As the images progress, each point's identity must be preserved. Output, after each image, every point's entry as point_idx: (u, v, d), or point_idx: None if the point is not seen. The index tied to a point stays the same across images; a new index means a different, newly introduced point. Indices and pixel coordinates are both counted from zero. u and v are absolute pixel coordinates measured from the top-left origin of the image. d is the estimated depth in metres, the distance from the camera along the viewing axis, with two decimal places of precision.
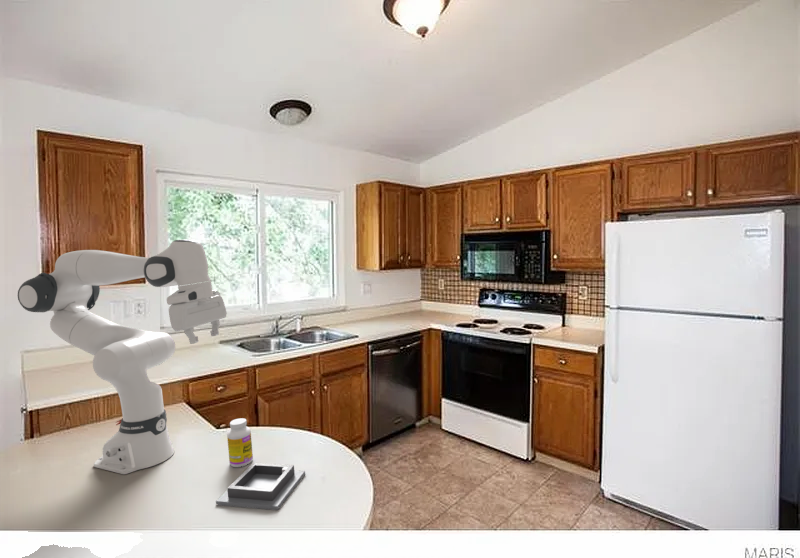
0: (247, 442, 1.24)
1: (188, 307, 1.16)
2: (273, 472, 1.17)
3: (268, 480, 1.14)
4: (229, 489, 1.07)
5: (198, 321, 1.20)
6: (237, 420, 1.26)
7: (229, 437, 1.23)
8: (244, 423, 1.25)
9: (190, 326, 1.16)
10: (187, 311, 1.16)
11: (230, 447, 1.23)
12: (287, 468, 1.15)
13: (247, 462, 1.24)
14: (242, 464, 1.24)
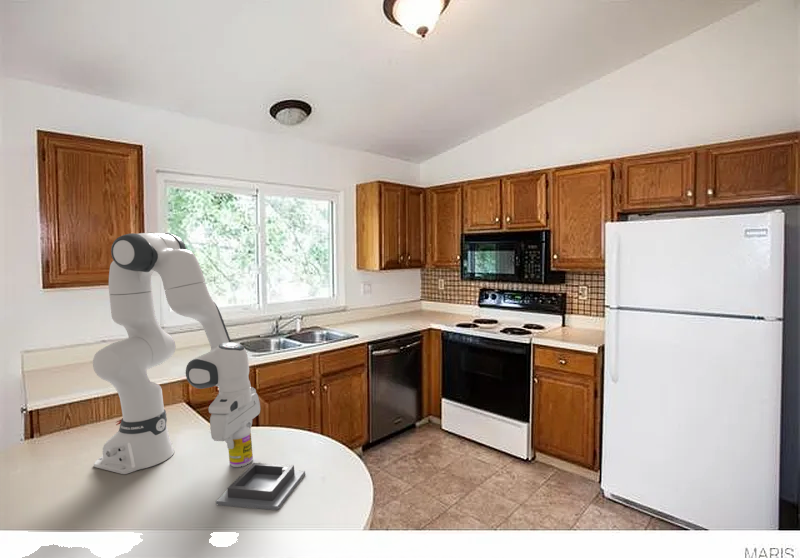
0: (247, 442, 1.24)
1: (229, 417, 1.18)
2: (273, 472, 1.17)
3: (268, 480, 1.14)
4: (229, 489, 1.07)
5: (236, 427, 1.22)
6: None
7: None
8: (244, 423, 1.25)
9: (229, 436, 1.18)
10: (227, 421, 1.18)
11: None
12: (287, 468, 1.15)
13: (247, 462, 1.24)
14: (242, 464, 1.24)
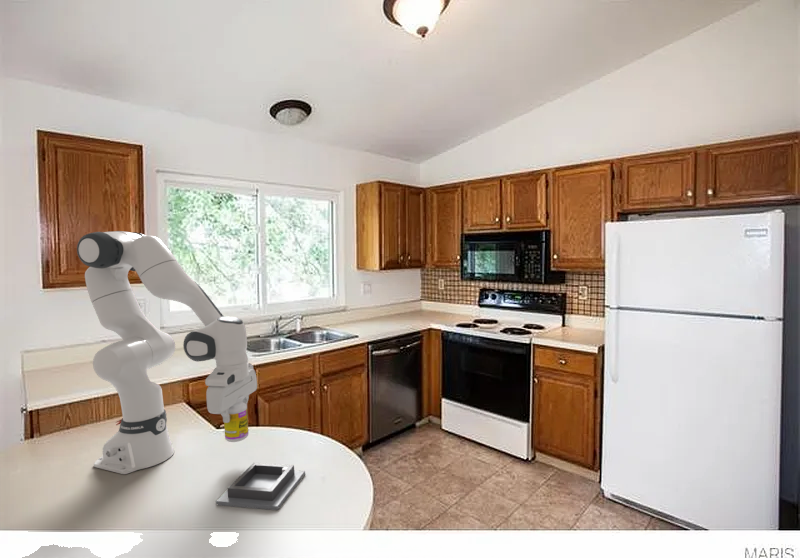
0: (243, 417, 1.24)
1: (225, 390, 1.17)
2: (273, 472, 1.17)
3: (268, 480, 1.14)
4: (229, 489, 1.07)
5: (233, 401, 1.21)
6: None
7: None
8: (240, 398, 1.24)
9: (225, 409, 1.18)
10: (224, 394, 1.17)
11: None
12: (287, 468, 1.15)
13: (243, 437, 1.24)
14: (238, 439, 1.23)
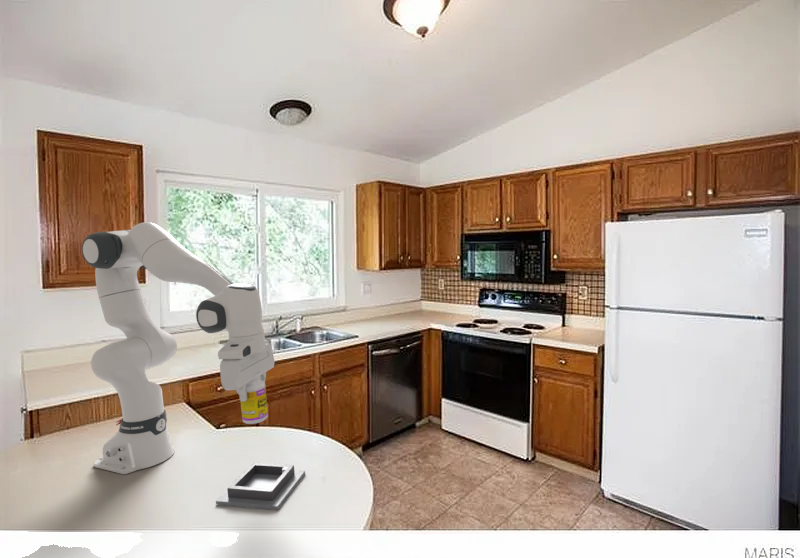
0: (262, 396, 1.11)
1: (241, 363, 1.04)
2: (273, 472, 1.17)
3: (268, 480, 1.14)
4: (229, 489, 1.07)
5: (249, 377, 1.08)
6: None
7: None
8: (258, 375, 1.11)
9: (241, 385, 1.04)
10: (240, 368, 1.04)
11: (243, 401, 1.09)
12: (287, 468, 1.15)
13: (262, 418, 1.11)
14: (257, 420, 1.10)
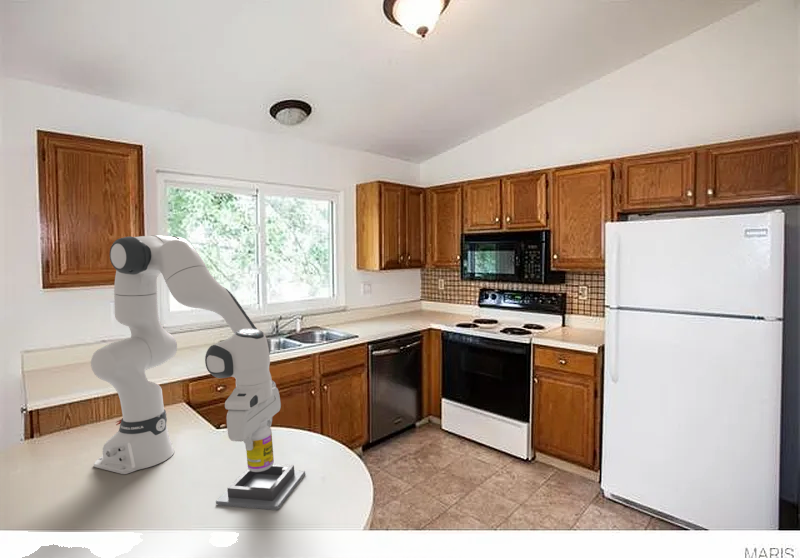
0: (268, 443, 1.09)
1: (248, 414, 1.03)
2: (273, 472, 1.17)
3: (268, 480, 1.14)
4: (229, 489, 1.07)
5: (256, 425, 1.07)
6: None
7: None
8: (264, 422, 1.10)
9: (248, 435, 1.03)
10: (246, 418, 1.03)
11: None
12: (287, 468, 1.15)
13: (268, 466, 1.09)
14: (262, 469, 1.08)
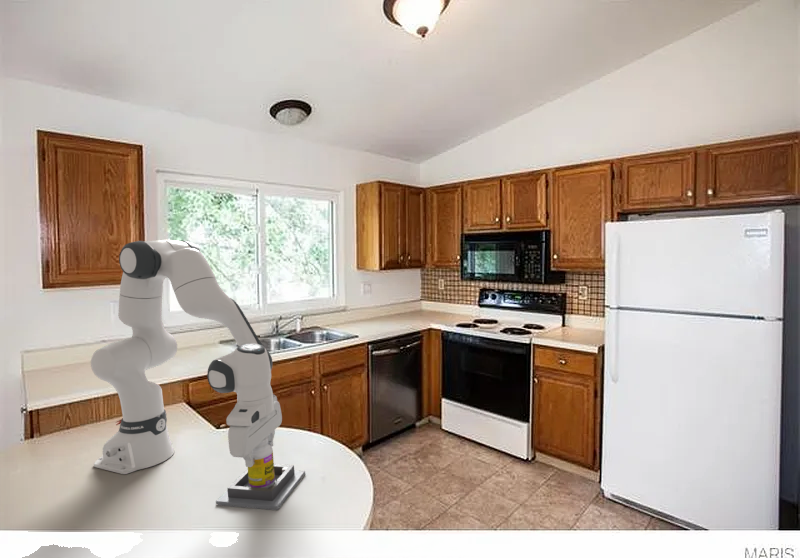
0: (269, 462, 1.10)
1: (249, 430, 1.03)
2: None
3: None
4: (229, 489, 1.07)
5: (257, 441, 1.07)
6: None
7: None
8: (266, 441, 1.10)
9: (249, 451, 1.03)
10: (248, 434, 1.03)
11: (250, 468, 1.09)
12: (287, 468, 1.15)
13: (269, 485, 1.10)
14: (263, 487, 1.09)
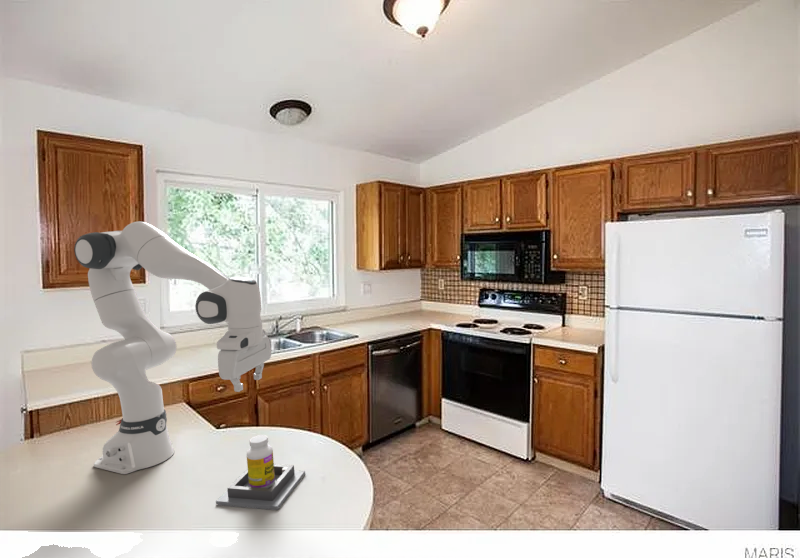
0: (269, 462, 1.10)
1: (238, 354, 1.08)
2: None
3: None
4: (229, 489, 1.07)
5: (246, 368, 1.12)
6: (257, 437, 1.12)
7: (249, 457, 1.09)
8: (266, 441, 1.10)
9: (238, 375, 1.08)
10: (237, 359, 1.08)
11: (250, 468, 1.09)
12: (287, 468, 1.15)
13: (269, 485, 1.10)
14: (263, 487, 1.09)
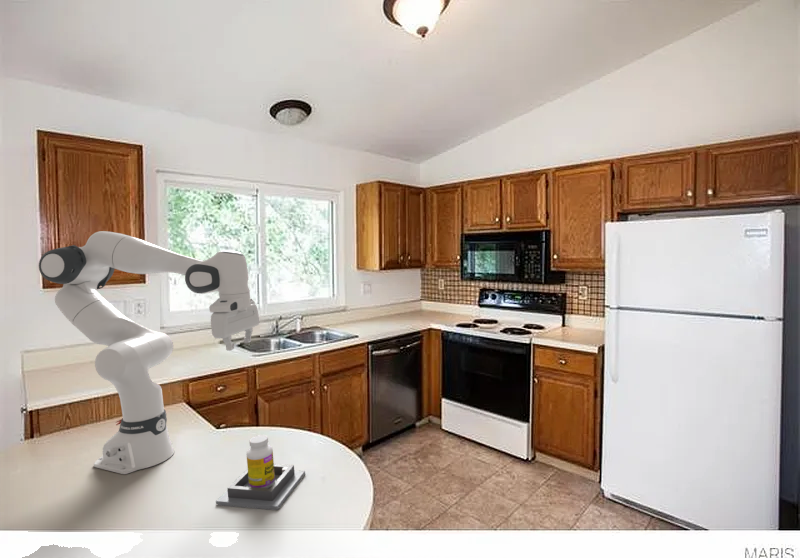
0: (269, 462, 1.10)
1: (229, 316, 1.23)
2: None
3: None
4: (229, 489, 1.07)
5: (236, 329, 1.26)
6: (257, 437, 1.12)
7: (249, 457, 1.09)
8: (265, 441, 1.10)
9: (229, 334, 1.23)
10: (227, 320, 1.23)
11: (250, 468, 1.09)
12: (287, 468, 1.15)
13: (269, 485, 1.10)
14: (263, 487, 1.09)
